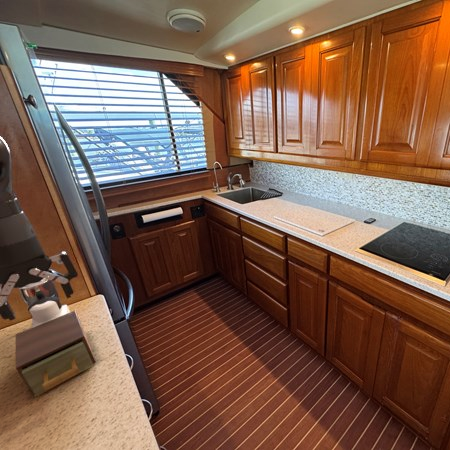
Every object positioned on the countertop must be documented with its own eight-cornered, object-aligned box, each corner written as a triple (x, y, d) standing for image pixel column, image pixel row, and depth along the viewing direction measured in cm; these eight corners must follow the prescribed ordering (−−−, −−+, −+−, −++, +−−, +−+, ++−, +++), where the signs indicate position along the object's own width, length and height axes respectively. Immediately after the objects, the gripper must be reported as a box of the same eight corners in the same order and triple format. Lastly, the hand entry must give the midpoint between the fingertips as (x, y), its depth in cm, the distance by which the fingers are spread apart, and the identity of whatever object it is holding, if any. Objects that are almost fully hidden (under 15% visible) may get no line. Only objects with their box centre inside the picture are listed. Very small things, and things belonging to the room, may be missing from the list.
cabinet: (96, 362, 61) (84, 335, 58) (33, 396, 53) (15, 367, 50) (85, 334, 70) (75, 310, 67) (30, 360, 62) (15, 334, 59)
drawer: (97, 377, 56) (87, 355, 54) (37, 412, 49) (22, 389, 47) (84, 338, 67) (74, 318, 65) (33, 362, 60) (20, 341, 58)
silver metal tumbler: (68, 311, 79) (51, 272, 74) (69, 322, 75) (51, 281, 69) (39, 322, 75) (18, 282, 69) (38, 334, 70) (15, 292, 65)
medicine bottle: (43, 334, 70) (25, 301, 66) (75, 322, 75) (60, 290, 70) (40, 349, 65) (21, 314, 61) (75, 335, 70) (59, 301, 65)
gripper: (54, 223, 53) (81, 285, 58) (-54, 246, 43) (-9, 318, 48) (60, 231, 48) (88, 296, 54) (-61, 258, 38) (-10, 336, 44)
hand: (42, 306), depth 51 cm, fingers open, 8 cm apart
